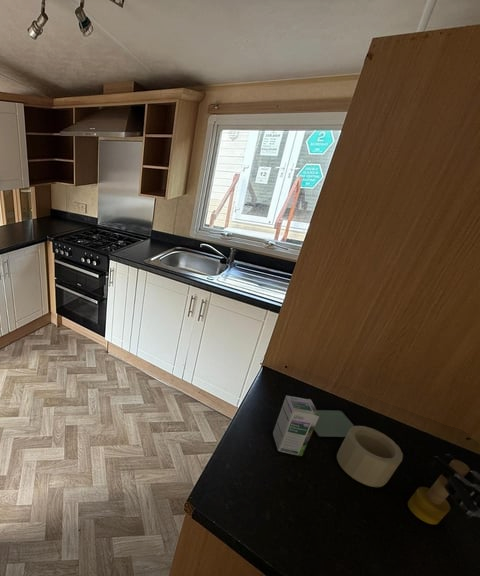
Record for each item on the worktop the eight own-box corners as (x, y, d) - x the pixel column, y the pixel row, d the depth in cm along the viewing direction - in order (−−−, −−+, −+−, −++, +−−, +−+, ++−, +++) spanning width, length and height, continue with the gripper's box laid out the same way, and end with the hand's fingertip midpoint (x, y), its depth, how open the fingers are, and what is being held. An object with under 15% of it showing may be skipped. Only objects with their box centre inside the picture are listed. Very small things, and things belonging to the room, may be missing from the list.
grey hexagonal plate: (340, 411, 92) (341, 410, 92) (363, 438, 84) (363, 437, 84) (299, 410, 93) (300, 409, 92) (318, 437, 85) (319, 436, 84)
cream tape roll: (365, 450, 81) (379, 426, 77) (397, 488, 72) (414, 463, 68) (327, 449, 81) (339, 425, 77) (354, 487, 73) (369, 462, 69)
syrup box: (277, 452, 80) (293, 412, 74) (271, 433, 86) (286, 394, 79) (302, 457, 79) (320, 416, 73) (294, 437, 84) (311, 398, 78)
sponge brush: (423, 500, 70) (460, 453, 63) (445, 525, 65) (488, 478, 58) (400, 500, 70) (435, 453, 63) (421, 525, 66) (461, 477, 58)
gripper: (613, 538, 48) (475, 441, 63) (542, 555, 46) (418, 450, 62) (580, 563, 51) (456, 464, 67) (512, 579, 50) (401, 474, 65)
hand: (438, 458), depth 64 cm, fingers closed on sponge brush, 2 cm apart
